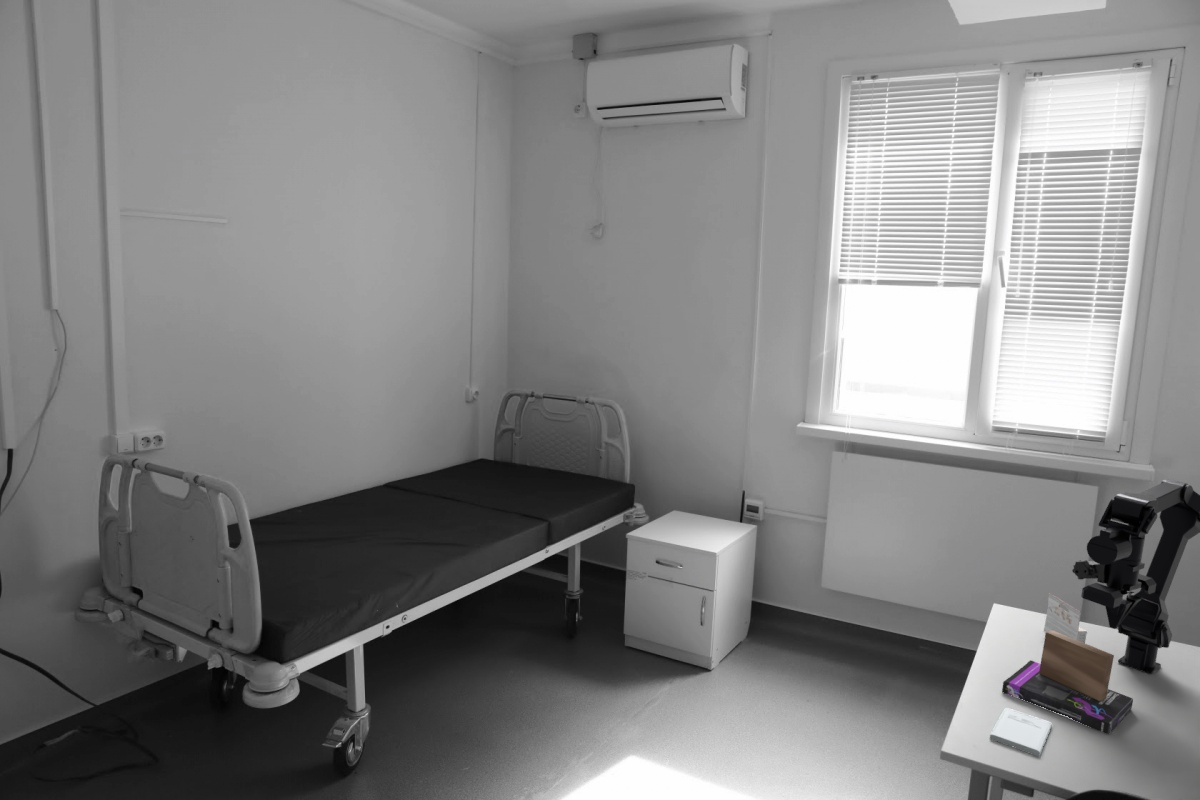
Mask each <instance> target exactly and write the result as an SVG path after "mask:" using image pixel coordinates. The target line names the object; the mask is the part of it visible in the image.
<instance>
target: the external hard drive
mask: <svg viewBox="0 0 1200 800" xmlns="http://www.w3.org/2000/svg"><path fill="white" fill-rule="evenodd" d="M1052 727H1053V722H1051V721H1050V720H1046V719H1043V718H1041V717H1036V716H1035V715H1034V716H1033V715H1030V714H1028V713H1026V712H1022V711H1019V710H1016V709H1012V708H1010V707H1005V708H1004V709H1003V711H1002V712H1001V714H1000V716H999V718H998V719H997V721H996V723H995V725H994V727H993V729H992V730H991V732H990V734H989V740H992V741H995V742H997V741H998V743H1000V742H1001V744H1003V745H1006V744H1007V745H1006V746H1008V745H1010V746H1009V747H1011V746H1014V747H1016V748H1015V749H1017V748H1018V750H1020V749H1021V750H1020V751H1022V750H1023V751H1024V752H1025V753H1028V752H1029V753H1028V754H1031V753H1032V754H1031V755H1034V754H1035V755H1034V756H1036V755H1037V757H1039V756H1041V754H1042V752H1043V750H1044V747H1045V745H1046V742H1047V740H1048V736H1049V735H1048V734H1050V732H1051V730H1052ZM1050 729H1051V730H1050ZM1046 739H1047V740H1046ZM1043 746H1044V747H1043ZM1014 747H1013V748H1014Z"/></svg>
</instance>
